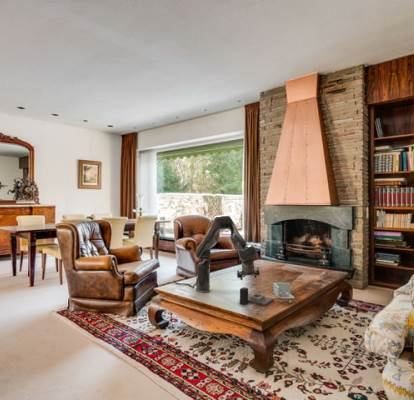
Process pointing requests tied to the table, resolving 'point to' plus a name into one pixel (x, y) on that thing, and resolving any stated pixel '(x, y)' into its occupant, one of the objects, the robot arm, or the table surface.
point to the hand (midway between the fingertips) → (248, 278)
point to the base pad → (259, 299)
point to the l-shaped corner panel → (282, 290)
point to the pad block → (243, 295)
